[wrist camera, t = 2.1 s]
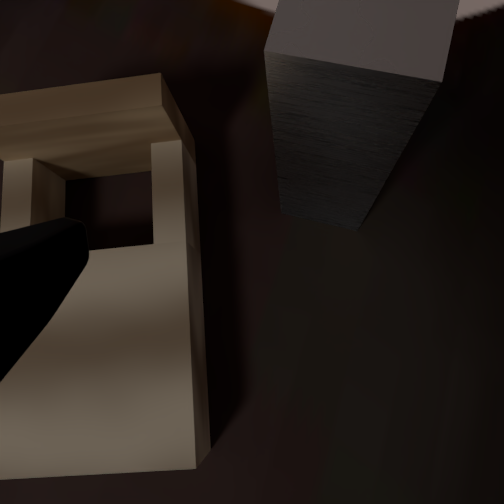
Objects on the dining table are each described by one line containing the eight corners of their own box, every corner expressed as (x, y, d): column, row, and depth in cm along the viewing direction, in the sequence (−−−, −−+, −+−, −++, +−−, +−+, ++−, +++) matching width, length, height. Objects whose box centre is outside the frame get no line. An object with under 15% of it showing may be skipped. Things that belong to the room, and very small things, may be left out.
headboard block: (210, 449, 20) (175, 495, 14) (30, 460, 20) (-76, 508, 15) (194, 140, 23) (160, 72, 17) (40, 159, 24) (-42, 100, 18)
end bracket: (357, 231, 21) (442, 82, 9) (281, 213, 22) (264, 50, 10) (378, 142, 22) (481, -103, 10) (304, 127, 23) (315, -121, 10)
